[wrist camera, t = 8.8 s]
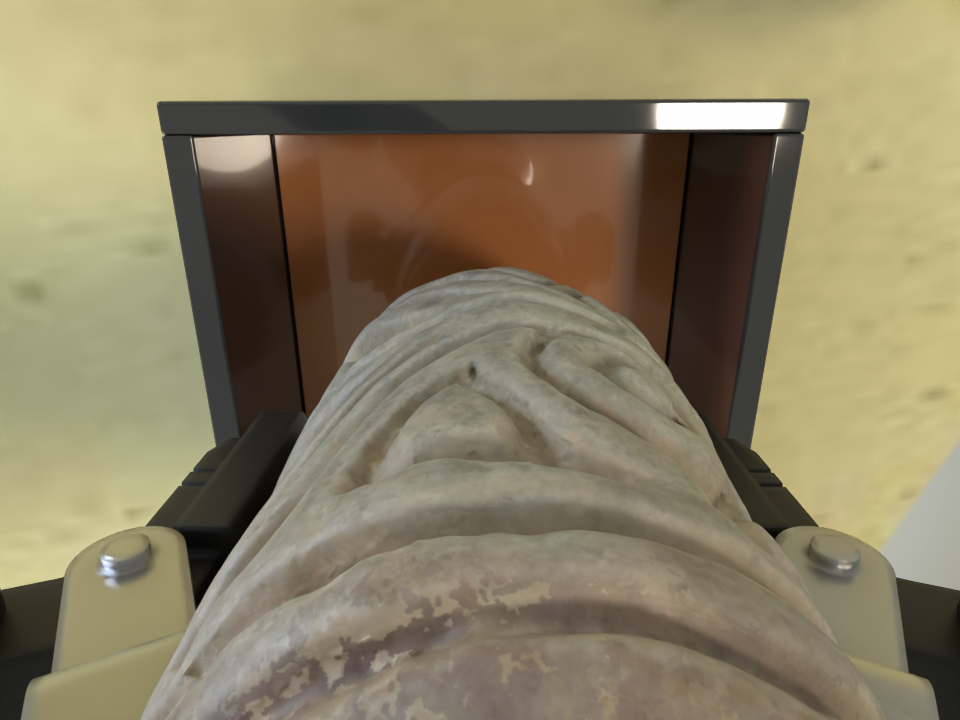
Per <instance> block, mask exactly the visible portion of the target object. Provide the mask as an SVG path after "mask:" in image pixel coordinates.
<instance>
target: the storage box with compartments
mask: <svg viewBox="0 0 960 720" xmlns="http://www.w3.org/2000/svg"><path fill="white" fill-rule="evenodd" d="M809 104H810V102H809V100H808V99H561V100H297V101H159V102H158V103H157V109H158V115H159V120H160V126H161V131H162V133H163V134H164V136H163V137H162V140H163V146H164V151H165V157H166V163H167V168H168V174H169V180H170V186H171V191H172V197H173V203H174V208H175V214H176V220H177V226H178V231H179V237H180V243H181V249H182V254H183V260H184V266H185V271H186V277H187V283H188V289H189V294H190V300H191V306H192V311H193V317H194V323H195V329H196V334H197V340H198V346H199V351H200V357H201V363H202V369H203V374H204V380H205V386H206V392H207V397H208V403H209V409H210V414H211V420H212V426H213V432H214V437H215V443H216V447H217V446H218V445H220V444H222V443H223V442H225V441H226V440H228V439H230V438H241V437H242V436H243V434H244V433H245V432H246V430H247V429H248V428H249V427H250V425H251V424H252V423H253V421H254V420H255V419H256V417H257V416H258V415H259V414H260V413H261V412H304V413H305V415H306V417H307V421H308V419H309V417H310V415H311V414H312V412H313V411H314V409H315V408H316V406H317V405H318V404H319V402H320V400H321V398H322V396H323V394H324V393H325V391H326V389H327V388H328V386H329V385H330V383H331V382H332V380H333V379H334V377H335V375H336V373H337V372H338V370H339V369H340V367H341V366H342V365H343V363H344V361H345V358H346V356H347V354H348V352H349V350H350V349H351V347H352V345H353V343H354V341H355V340H356V338H357V337H358V335H359V334H360V333H361V332H362V330H363V329H364V328H365V327H366V326H367V325H368V324H369V323H370V322H372V321H373V320H375V319H376V318H378V317H379V316H380V315H381V314H382V313H383V312H384V311H385V310H386V309H387V308H388V307H389V306H390V305H391V304H392V303H393V302H394V301H395V300H396V299H398V298H399V297H400V296H402V295H403V294H405V293H406V292H408V291H410V290H412V289H414V288H416V287H418V286H421V285H423V284H426V283H429V282H432V281H434V280H437V279H440V278H443V277H446V276H449V275H452V274H455V273H458V272H463V271H468V270H475V269H489V268H493V267H513V268H519V269H523V270H527V271H531V272H535V273H537V274H540V275H543V276H545V277H548V278H550V279H551V280H553V281H555V282H556V283H557V284H558V285H565V286H569V287H571V288H573V289H575V290H577V291H579V292H580V293H582V294H583V295H584V296H591V297H592V298H594V299H596V300H597V301H599V302H600V303H602V304H603V305H605V306H606V307H607V308H609V309H610V310H611V311H613V312H617V313H619V314H621V315H622V316H624V317H625V318H627V319H628V320H630V321H631V322H632V323H633V324H634V325H635V326H636V327H637V328H638V329H639V330H640V331H641V332H642V334H643V335H644V336H645V337H646V339H647V340H648V342H649V343H650V345H651V346H652V348H653V350H654V351H655V352H656V353H657V354H658V356H659V357H660V358H661V359H662V360H663V362H664V363H665V364H666V366H667V367H668V369H669V371H670V372H671V374H672V376H673V379H674V381H675V383H676V384H677V385H678V387H679V388H680V389H681V391H682V392H683V394H684V395H685V397H686V398H687V400H688V401H689V403H690V404H691V406H692V407H693V408H694V410H695V411H696V412H702V413H703V414H704V415H705V416H706V417H707V418H708V420H709V421H710V422H711V424H712V425H713V426H714V427H715V429H716V430H717V431H718V433H719V434H720V435H721V436H722V438H723V439H734V440H736V441H738V442H739V443H741V444H743V445H744V446H746V447H748V448H749V449H750V448H751V442H752V436H753V431H754V425H755V419H756V413H757V407H758V401H759V395H760V390H761V384H762V378H763V372H764V366H765V360H766V355H767V349H768V343H769V337H770V331H771V325H772V320H773V314H774V308H775V302H776V296H777V290H778V285H779V279H780V273H781V267H782V261H783V255H784V250H785V244H786V238H787V232H788V226H789V220H790V214H791V209H792V203H793V197H794V191H795V185H796V179H797V174H798V168H799V162H800V156H801V150H802V144H803V139H804V135H803V134H802V133H801V132H803V131H804V130H805V127H806V121H807V115H808V109H809Z"/></svg>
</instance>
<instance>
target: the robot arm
mask: <svg viewBox="0 0 960 720" xmlns="http://www.w3.org/2000/svg"><path fill="white" fill-rule="evenodd" d="M697 414H698V415H699V417H700V418H701V420H702V421H703V423H704V425H705V427H706V429H707V431H708V434H709V436H710V438H711V441H712V443H713V446H714V448H715V451H716V453H717V455H718V457H719V459H720V461H721V463H722V465H723V467H724V469H725V471H726V473H727V476H728V478H729V479H730V481H731V483H732V484H733V486H734V488H735V490H736V492H737V494H738V495H739V497H740V499H741V501H742V503H743V504H744V506H745V507H746V509H747V511H748V513H749V515H750V518H751V520H752V522H755V523H757V524H758V525H760V526H761V527H762V528H763V529H765V530H766V531H767V532H768V533H769V534H770V535H771V536H772V537H773V539H774V540H775V541H776V542H777V543H778V544H779V545H780V547H781V548H782V549H783V551H784V552H785V553H786V554H787V556H788V557H789V558H790V559H791V560H792V562H793V563H794V564H795V565H796V568H797V570H798V572H799V573H800V575H801V576H802V578H803V580H804V582H805V583H806V585H807V588H808V590H809V593H810V595H811V598H812V600H813V601H814V602H815V604H816V605H817V606H818V608H819V609H820V611H821V613H822V614H823V616H824V618H825V619H826V621H827V622H828V624H829V625H830V627H831V629H832V631H833V634H834V636H835V638H836V641H837V643H838V646H839V648H840V649H841V650H842V651H843V652H844V654H845V655H846V656H847V657H848V658H849V659H850V661H851V662H852V663H853V664H854V666H855V667H856V668H857V669H858V671H859V672H860V673H861V675H862V676H863V678H864V679H865V680H866V682H867V683H868V685H869V687H870V688H871V690H872V692H873V693H874V695H875V697H876V699H877V700H878V702H879V704H880V706H881V708H882V710H883V712H884V714H885V717H886V719H887V720H960V591H959V590H953V589H949V588H944V587H939V586H934V585H929V584H924V583H919V582H914V581H909V580H905V579H901V578H896V576H895V572H894V569H893V567H892V566H891V564H890V563H889V561H888V560H887V559H886V558H885V557H884V556H883V555H882V554H881V553H880V552H879V551H877V550H876V549H874V548H873V547H872V546H870V545H868V544H867V543H865V542H863V541H861V540H859V539H857V538H855V537H853V536H850V535H848V534H845V533H843V532H839V531H836V530H832V529H827V528H823V527H819V526H818V525H817V524H816V523H815V521H814V520H813V519H812V518H811V517H810V515H809V514H808V513H807V512H806V511H805V510H804V508H803V507H802V506H801V505H800V504H799V502H798V501H797V500H796V499H795V498H794V497H793V495H792V494H791V493H790V492H789V491H788V489H787V488H786V487H783V486H782V482H781V481H780V480H779V479H778V478H777V476H776V475H775V474H774V473H771V469H770V468H769V467H768V466H767V465H766V463H765V462H764V461H763V460H762V459H761V458H760V456H759V455H758V454H757V453H756V452H754V451H753V450H751V449H749V448H748V447H746V446H744V445H743V444H741V443H739V442H738V441H736V440H734V439H723V438H722V436H721V435H720V434H719V433H718V431H717V430H716V429H715V427H714V426H713V425H712V424H711V422H710V421H709V420H708V418H707V417H706V416H705V415H704V414H703V413H702V412H697ZM306 422H307V417H306V415H305V413H304V412H261V413H260V414H259V415H258V416H257V417H256V419H255V420H254V421H253V423H252V424H251V425H250V427H249V428H248V429H247V430H246V432H245V433H244V434H243V436H242V437H241V438H230V439H228V440H226V441H225V442H223V443H222V444H220V445H218V446H217V447H215V448H213V449H212V450H210V451H208V452H207V453H206V454H205V456H204V457H203V458H202V459H201V460H200V462H199V463H198V464H197V465H196V466H195V468H194V471H193V472H190V473H189V475H188V476H187V477H186V478H185V479H184V481H183V482H182V486H179V487H178V488H177V489H176V490H175V491H174V493H173V494H172V495H171V496H170V497H169V499H168V500H167V501H166V502H165V503H164V505H163V506H162V507H161V508H160V509H159V511H158V512H157V513H156V514H155V515H154V517H153V518H152V519H151V520H150V521H149V522H148V524H147V525H146V526H145V527H137V528H133V529H128V530H124V531H121V532H118V533H115V534H112V535H110V536H107V537H105V538H103V539H101V540H99V541H97V542H95V543H93V544H92V545H90V546H88V547H87V548H86V549H84V550H83V551H81V552H80V553H79V554H78V555H77V556H76V557H75V558H74V559H73V560H72V561H71V563H70V564H69V566H68V567H67V569H66V572H65V576H64V577H63V578H58V579H54V580H49V581H44V582H39V583H34V584H29V585H24V586H19V587H14V588H9V589H4V590H1V589H0V720H141V717H142V715H143V712H144V710H145V707H146V705H147V703H148V701H149V699H150V697H151V695H152V693H153V691H154V689H155V687H156V686H157V684H158V682H159V680H160V678H161V677H162V675H163V673H164V671H165V670H166V668H167V666H168V664H169V662H170V661H171V659H172V657H173V655H174V653H175V652H176V650H177V648H178V646H179V644H180V642H181V640H182V638H183V636H184V634H185V632H186V630H187V628H188V626H189V624H190V622H191V620H192V618H193V615H194V613H195V612H196V610H197V608H198V606H199V604H200V603H201V601H202V599H203V597H204V595H205V594H206V592H207V590H208V588H209V586H210V585H211V583H212V581H213V579H214V578H215V576H216V575H217V573H218V572H219V570H220V569H221V567H222V566H223V564H224V562H225V561H226V559H227V558H228V556H229V555H230V553H231V551H232V550H233V548H234V547H235V546H236V544H237V543H238V542H239V540H240V538H241V537H242V535H243V534H244V533H245V531H246V530H247V528H248V527H249V525H250V524H251V522H252V521H253V520H254V518H255V517H256V515H257V514H258V513H259V511H260V510H261V509H262V508H263V506H264V505H265V504H266V502H267V501H268V500H269V498H270V497H271V495H272V494H273V491H274V489H275V487H276V484H277V482H278V479H279V477H280V475H281V473H282V471H283V469H284V467H285V464H286V462H287V460H288V458H289V456H290V454H291V452H292V450H293V448H294V446H295V444H296V442H297V440H298V438H299V436H300V434H301V432H302V430H303V428H304V426H305V424H306Z"/></svg>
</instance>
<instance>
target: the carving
mask: <svg viewBox="0 0 960 720" xmlns="http://www.w3.org/2000/svg"><path fill="white" fill-rule="evenodd" d="M141 720H887V719H886V717H885V714H884V712H883V710H882V708H881V706H880V704H879V702H878V700H877V699H876V697H875V695H874V693H873V692H872V690H871V688H870V687H869V685H868V683H867V682H866V680H865V679H864V678H863V676H862V675H861V673H860V672H859V671H858V669H857V668H856V667H855V666H854V664H853V663H852V662H851V661H850V659H849V658H848V657H847V656H846V655H845V654H844V652H843V651H842V650H841V649H840V648H839V646H838V643H837V641H836V638H835V636H834V634H833V631H832V629H831V627H830V625H829V624H828V622H827V621H826V619H825V618H824V616H823V614H822V613H821V611H820V609H819V608H818V606H817V605H816V604H815V602H814V601H813V600H812V598H811V595H810V593H809V590H808V588H807V585H806V583H805V582H804V580H803V578H802V576H801V575H800V573H799V572H798V570H797V568H796V565H795V564H794V563H793V562H792V560H791V559H790V558H789V557H788V556H787V554H786V553H785V552H784V551H783V549H782V548H781V547H780V545H779V544H778V543H777V542H776V541H775V540H774V539H773V537H772V536H771V535H770V534H769V533H768V532H767V531H766V530H765V529H763V528H762V527H761V526H760V525H758V524H757V523H755V522H752V520H751V518H750V515H749V513H748V511H747V509H746V507H745V506H744V504H743V503H742V501H741V499H740V497H739V495H738V494H737V492H736V490H735V488H734V486H733V484H732V483H731V481H730V479H729V478H728V476H727V473H726V471H725V469H724V467H723V465H722V463H721V461H720V459H719V457H718V455H717V453H716V451H715V448H714V446H713V443H712V441H711V438H710V436H709V434H708V431H707V429H706V427H705V425H704V423H703V421H702V420H701V418H700V417H699V415H698V414H697V412H696V411H695V410H694V408H693V407H692V406H691V404H690V403H689V401H688V400H687V398H686V397H685V395H684V394H683V392H682V391H681V389H680V388H679V387H678V385H677V384H676V383H675V381H674V379H673V376H672V374H671V372H670V371H669V369H668V367H667V366H666V364H665V363H664V362H663V360H662V359H661V358H660V357H659V356H658V354H657V353H656V352H655V351H654V350H653V348H652V346H651V345H650V343H649V342H648V340H647V339H646V337H645V336H644V335H643V334H642V332H641V331H640V330H639V329H638V328H637V327H636V326H635V325H634V324H633V323H632V322H631V321H630V320H628V319H627V318H625V317H624V316H622V315H621V314H619V313H617V312H613V311H611V310H610V309H609V308H607V307H606V306H605V305H603V304H602V303H600V302H599V301H597V300H596V299H594V298H592V297H591V296H584V295H583V294H582V293H580V292H579V291H577V290H575V289H573V288H571V287H569V286H565V285H558V284H557V283H556V282H555V281H553V280H551V279H550V278H548V277H545V276H543V275H540V274H537V273H535V272H531V271H527V270H523V269H519V268H513V267H493V268H489V269H475V270H468V271H463V272H458V273H455V274H452V275H449V276H446V277H443V278H440V279H437V280H434V281H432V282H429V283H426V284H423V285H421V286H418V287H416V288H414V289H412V290H410V291H408V292H406V293H405V294H403V295H402V296H400V297H399V298H398V299H396V300H395V301H394V302H393V303H392V304H391V305H390V306H389V307H388V308H387V309H386V310H385V311H384V312H383V313H382V314H381V315H380V316H379V317H378V318H376V319H375V320H373V321H372V322H370V323H369V324H368V325H367V326H366V327H365V328H364V329H363V330H362V332H361V333H360V334H359V335H358V337H357V338H356V340H355V341H354V343H353V345H352V347H351V349H350V350H349V352H348V354H347V356H346V358H345V361H344V363H343V365H342V366H341V367H340V369H339V370H338V372H337V373H336V375H335V377H334V379H333V380H332V382H331V383H330V385H329V386H328V388H327V389H326V391H325V393H324V394H323V396H322V398H321V400H320V402H319V404H318V405H317V406H316V408H315V409H314V411H313V412H312V414H311V415H310V417H309V419H308V421H307V422H306V424H305V426H304V428H303V430H302V432H301V434H300V436H299V438H298V440H297V442H296V444H295V446H294V448H293V450H292V452H291V454H290V456H289V458H288V460H287V462H286V464H285V467H284V469H283V471H282V473H281V475H280V477H279V479H278V482H277V484H276V487H275V489H274V491H273V494H272V495H271V497H270V498H269V500H268V501H267V502H266V504H265V505H264V506H263V508H262V509H261V510H260V511H259V513H258V514H257V515H256V517H255V518H254V520H253V521H252V522H251V524H250V525H249V527H248V528H247V530H246V531H245V533H244V534H243V535H242V537H241V538H240V540H239V542H238V543H237V544H236V546H235V547H234V548H233V550H232V551H231V553H230V555H229V556H228V558H227V559H226V561H225V562H224V564H223V566H222V567H221V569H220V570H219V572H218V573H217V575H216V576H215V578H214V579H213V581H212V583H211V585H210V586H209V588H208V590H207V592H206V594H205V595H204V597H203V599H202V601H201V603H200V604H199V606H198V608H197V610H196V612H195V613H194V615H193V618H192V620H191V622H190V624H189V626H188V628H187V630H186V632H185V634H184V636H183V638H182V640H181V642H180V644H179V646H178V648H177V650H176V652H175V653H174V655H173V657H172V659H171V661H170V662H169V664H168V666H167V668H166V670H165V671H164V673H163V675H162V677H161V678H160V680H159V682H158V684H157V686H156V687H155V689H154V691H153V693H152V695H151V697H150V699H149V701H148V703H147V705H146V707H145V710H144V712H143V715H142V717H141Z"/></svg>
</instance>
